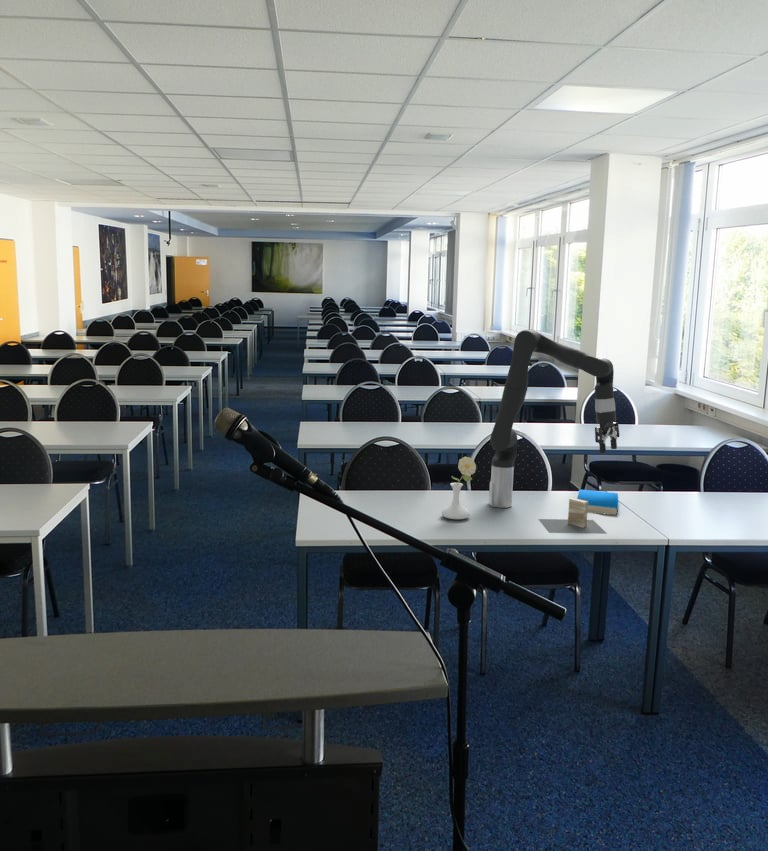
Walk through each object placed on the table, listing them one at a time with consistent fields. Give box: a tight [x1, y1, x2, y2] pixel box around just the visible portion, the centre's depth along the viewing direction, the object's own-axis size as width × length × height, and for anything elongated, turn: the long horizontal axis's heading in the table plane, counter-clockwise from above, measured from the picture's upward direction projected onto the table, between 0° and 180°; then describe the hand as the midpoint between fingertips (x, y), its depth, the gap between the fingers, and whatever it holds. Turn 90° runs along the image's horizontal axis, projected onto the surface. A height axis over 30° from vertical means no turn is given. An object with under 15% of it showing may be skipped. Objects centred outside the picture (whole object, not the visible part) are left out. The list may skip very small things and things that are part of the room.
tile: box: [567, 497, 589, 528], centre depth 304 cm, size 2×7×10 cm, turn 41°
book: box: [576, 489, 619, 516], centre depth 337 cm, size 17×4×25 cm
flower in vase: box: [440, 456, 477, 520], centre depth 311 cm, size 13×11×25 cm
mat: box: [538, 518, 608, 535], centre depth 304 cm, size 22×18×1 cm
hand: (608, 450), depth 309 cm, fingers open, 8 cm apart
